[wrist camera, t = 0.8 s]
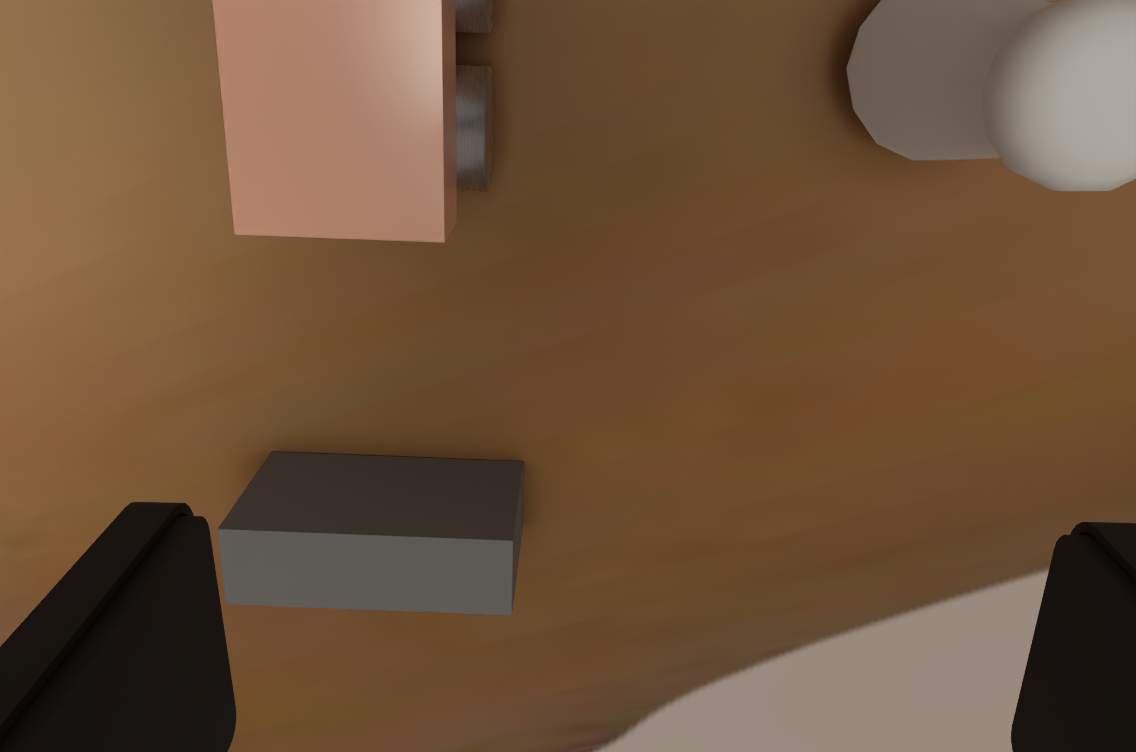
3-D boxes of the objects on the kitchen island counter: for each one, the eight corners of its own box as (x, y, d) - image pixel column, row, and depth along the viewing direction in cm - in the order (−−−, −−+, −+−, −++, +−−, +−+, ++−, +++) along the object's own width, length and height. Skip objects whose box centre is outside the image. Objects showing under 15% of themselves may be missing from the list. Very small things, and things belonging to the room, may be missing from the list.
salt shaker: (798, 105, 33) (924, 166, 21) (887, -62, 31) (1082, -104, 19) (944, 177, 33) (1147, 276, 21) (1039, 18, 32) (1322, 28, 19)
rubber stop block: (271, 451, 38) (217, 529, 32) (523, 461, 38) (512, 540, 32) (277, 517, 39) (226, 603, 33) (522, 527, 39) (511, 615, 33)
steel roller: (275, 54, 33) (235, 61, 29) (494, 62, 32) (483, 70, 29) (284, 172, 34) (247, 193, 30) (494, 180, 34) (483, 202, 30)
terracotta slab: (235, -148, 26) (197, -165, 24) (453, -140, 26) (439, -155, 24) (265, 214, 30) (234, 234, 27) (456, 221, 30) (444, 242, 27)
